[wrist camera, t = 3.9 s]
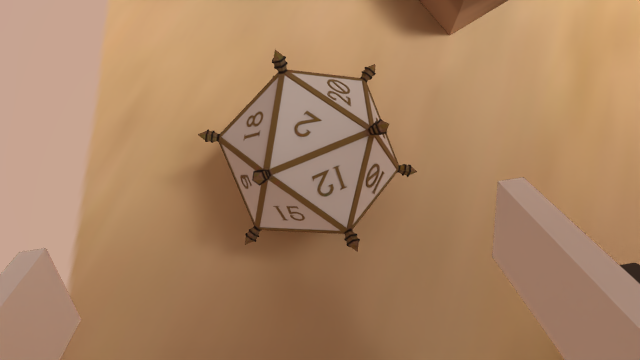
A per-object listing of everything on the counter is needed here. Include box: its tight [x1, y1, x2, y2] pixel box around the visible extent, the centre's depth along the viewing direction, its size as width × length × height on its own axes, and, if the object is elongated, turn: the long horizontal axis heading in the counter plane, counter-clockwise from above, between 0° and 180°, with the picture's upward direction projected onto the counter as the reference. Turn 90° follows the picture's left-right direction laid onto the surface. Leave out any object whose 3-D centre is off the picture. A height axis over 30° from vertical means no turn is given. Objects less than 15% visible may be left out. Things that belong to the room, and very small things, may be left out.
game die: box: [198, 50, 417, 252], centre depth 20 cm, size 9×8×10 cm
